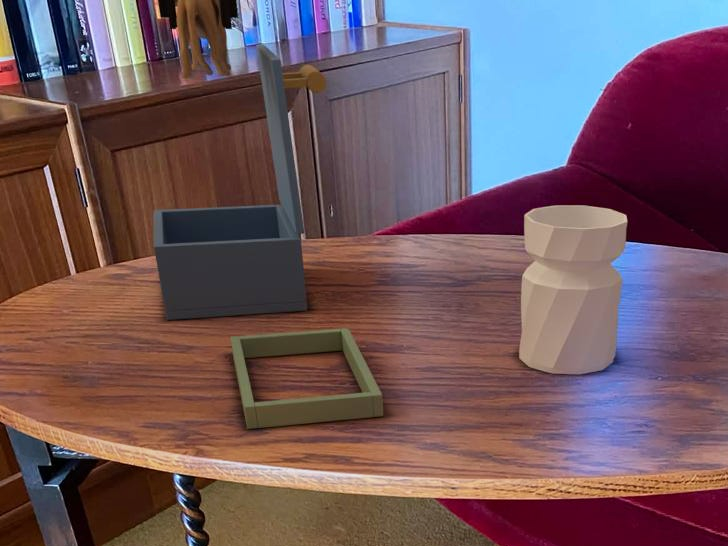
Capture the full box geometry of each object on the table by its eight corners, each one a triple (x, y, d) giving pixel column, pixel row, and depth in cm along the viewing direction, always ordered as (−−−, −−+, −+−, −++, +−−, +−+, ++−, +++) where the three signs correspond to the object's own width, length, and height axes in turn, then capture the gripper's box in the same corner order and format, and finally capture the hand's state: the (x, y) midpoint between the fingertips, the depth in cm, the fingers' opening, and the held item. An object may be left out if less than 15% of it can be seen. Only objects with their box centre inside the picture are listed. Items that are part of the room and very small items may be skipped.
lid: (271, 59, 84) (330, 55, 85) (256, 44, 97) (307, 41, 98) (296, 234, 93) (349, 228, 94) (279, 200, 105) (326, 195, 106)
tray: (247, 429, 74) (244, 407, 72) (232, 356, 86) (230, 336, 85) (383, 416, 76) (382, 394, 75) (349, 347, 89) (348, 327, 88)
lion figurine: (174, 67, 95) (157, -46, 89) (229, 66, 96) (216, -45, 91) (182, 82, 83) (163, -45, 78) (245, 81, 84) (230, -44, 79)
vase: (551, 381, 83) (559, 233, 75) (501, 349, 89) (505, 210, 82) (634, 365, 86) (650, 222, 79) (580, 336, 92) (590, 201, 85)
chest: (166, 320, 94) (153, 246, 90) (164, 276, 107) (153, 210, 103) (307, 310, 97) (301, 239, 93) (289, 269, 110) (283, 204, 106)
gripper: (268, -234, 80) (289, 25, 91) (56, -246, 77) (104, 25, 87) (276, -247, 75) (299, 31, 85) (47, -262, 71) (101, 31, 82)
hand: (200, 25), depth 86 cm, fingers closed on lion figurine, 4 cm apart
